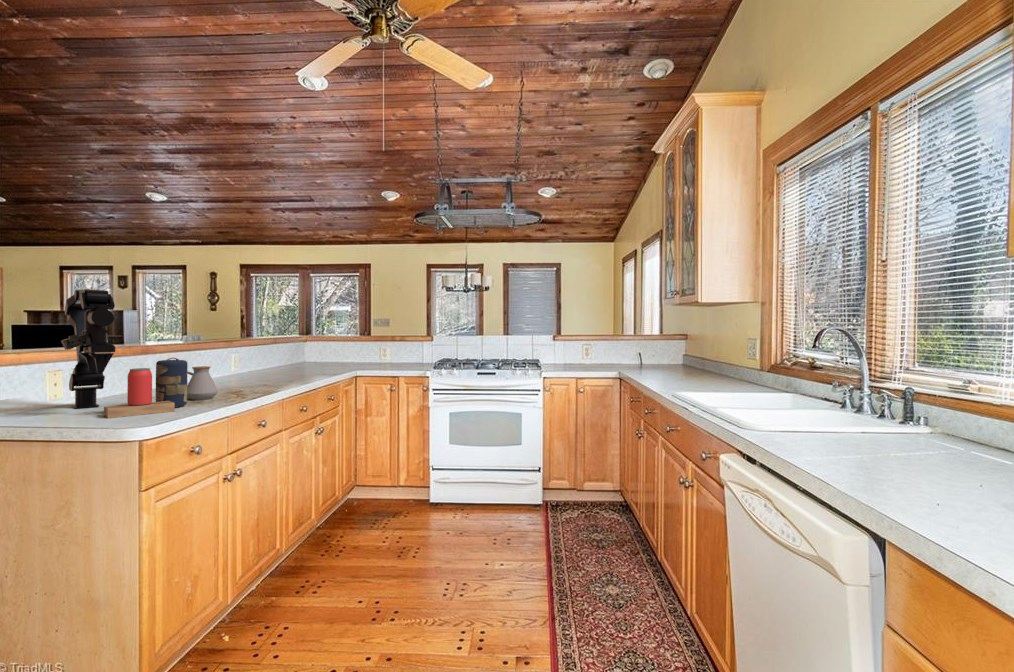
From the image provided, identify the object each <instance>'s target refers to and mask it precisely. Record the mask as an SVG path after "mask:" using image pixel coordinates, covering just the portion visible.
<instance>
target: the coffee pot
mask: <svg viewBox="0 0 1014 672" xmlns="http://www.w3.org/2000/svg"><path fill="white" fill-rule="evenodd" d="M191 369H192V370H193V372H190V371H188V370H187V375H190V376H191V378H190V379H189V382H188V383H187V399H189V400H191V401H205V400H211V399H213V397H215V396H216V395H217V394H218V388H217V385H215V382H214V381H213V378H212V376H211V374H210V372H209V371H210V369H211V366H192V367H191Z"/></svg>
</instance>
